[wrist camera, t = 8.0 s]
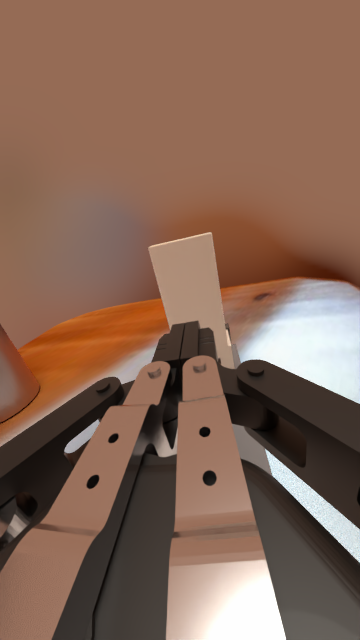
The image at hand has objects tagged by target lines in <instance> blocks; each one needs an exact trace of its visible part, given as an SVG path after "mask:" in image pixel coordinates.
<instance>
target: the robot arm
mask: <svg viewBox="0 0 360 640" xmlns="http://www.w3.org/2000/svg"><path fill="white" fill-rule="evenodd" d="M39 388H40V386H39V384H38V382H37V380H36V379H35V377H34V376H33V374H32V373H31V371H30V370H29V368H28V366H27V365H26V363H25V362H24V360H23V358H22V357H21V355H20V354H19V352H18V351H17V349H16V347H15V346H14V344H13V343H12V341H11V340H10V338H9V337H8V335H7V333H6V332H5V330H4V329H3V327H2V326H1V324H0V422H3V421H5V420H6V419H8V418H10V417H11V416H13V415H15V414H16V413H17V412H19V411H20V410H22V409H23V408H24V407H25V406H27V405H28V404H29V403H30V402H31V401H32V400H33V399H34V397H35V396H36V395H37V393H38V391H39ZM97 419H98V420H99V422H100V424H99V425H98V427H97V429H96V431H95V432H94V434H93V436H92V438H91V439H89V440H88V441H87V442H86V443H85V444H83V445H82V446H81V447H80V448H79V449H77V450H76V451H75V452H73V453H65V452H64V449H65V447H66V445H67V444H68V443H69V442H70V441H71V440H72V439H73V438H75V437H76V436H77V435H78V434H80V433H81V432H82V431H83V430H85V429H86V428H87V427H88V426H90V425H91V424H92V423H93V422H95V421H96V420H97ZM232 424H235V425H240V426H244V429H245V431H246V432H247V433H248V434H249V435H250V436H251V437H252V438H253V439H255V440H256V441H257V442H258V443H259V444H260V445H262V446H263V447H264V448H265V449H266V450H268V451H269V452H270V453H271V454H272V455H273V456H275V457H276V458H277V459H278V460H279V461H280V462H282V463H283V464H284V465H285V466H286V467H287V468H289V469H290V470H291V471H292V472H293V473H294V474H296V475H297V476H298V477H299V478H300V479H302V480H303V481H304V482H305V483H306V484H307V485H309V486H310V487H311V488H312V489H313V490H314V491H316V492H317V493H318V494H319V495H320V496H321V497H323V498H324V499H325V500H326V501H327V502H328V503H330V504H331V505H332V506H333V507H334V508H335V509H337V510H338V511H339V512H340V513H341V514H343V515H344V516H345V517H346V518H347V519H348V520H350V521H351V522H352V523H353V524H354V525H355V526H357V527H358V528H359V529H360V404H358V403H356V402H354V401H352V400H350V399H347V398H345V397H343V396H341V395H339V394H337V393H334V392H332V391H330V390H328V389H326V388H323V387H321V386H319V385H317V384H315V383H312V382H310V381H308V380H306V379H304V378H302V377H299V376H297V375H295V374H293V373H291V372H288V371H286V370H284V369H282V368H280V367H277V366H275V365H273V364H271V363H269V362H266V361H263V360H248V361H245V362H243V363H241V364H240V365H239V366H238V367H237V369H230V368H226V367H224V366H222V365H220V364H219V363H218V356H217V350H216V344H215V338H214V333H213V331H212V330H211V329H210V328H209V327H208V328H201V329H200V324H199V321H191V322H186V323H179V324H173V325H172V327H171V331H170V333H169V334H164V335H163V336H162V337H161V338H160V339H159V342H158V346H157V348H156V351H155V354H154V357H153V359H152V362H151V363H150V364H148V365H146V366H144V367H143V368H142V369H141V370H140V372H139V374H138V376H137V378H136V380H134V381H131V382H128V383H125V384H122V385H121V382H120V380H119V379H118V378H116V377H108V378H104V379H102V380H100V381H98V382H96V383H95V384H93V385H92V386H90V387H89V388H87V389H86V390H84V391H83V392H81V393H80V394H78V395H77V396H75V397H74V398H72V399H71V400H69V401H68V402H66V403H65V404H64V405H62V406H61V407H59V408H58V409H56V410H55V411H53V412H52V413H50V414H49V415H47V416H46V417H44V418H43V419H41V420H40V421H38V422H37V423H35V424H34V425H32V426H31V427H29V428H28V429H26V430H25V431H23V432H22V433H20V434H19V435H17V436H16V437H14V438H13V439H12V440H10V441H9V442H7V443H6V444H4V445H3V446H1V447H0V640H360V563H359V562H358V561H357V560H356V559H355V558H354V557H353V556H352V555H351V554H350V553H349V552H348V551H347V550H346V549H345V548H344V547H343V546H342V545H341V544H340V543H339V542H338V541H337V540H336V539H335V538H334V537H333V536H332V535H331V534H330V533H329V532H328V531H327V530H326V529H325V528H324V527H323V526H322V525H321V524H320V523H319V522H318V521H317V520H316V519H315V518H314V517H313V516H312V515H311V514H310V513H309V512H308V511H307V510H306V509H305V508H304V507H303V506H302V505H301V504H300V503H299V502H298V501H297V500H296V499H295V498H294V497H293V496H292V495H291V494H290V493H289V492H288V491H287V490H286V489H285V488H284V487H283V486H282V485H281V484H280V483H279V482H278V481H277V480H276V479H275V478H274V477H273V476H271V475H270V474H269V473H268V472H266V471H265V470H263V469H262V468H260V467H259V466H257V465H255V464H253V463H251V462H249V461H247V460H244V459H241V458H240V455H239V451H238V447H237V443H236V439H235V435H234V431H233V427H232Z"/></svg>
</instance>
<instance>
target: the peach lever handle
mask: <svg viewBox="0 0 360 640" xmlns="http://www.w3.org/2000/svg"><path fill="white" fill-rule="evenodd" d="M148 249H149V253H150V257H151V260H152V264H153V268H154V271H155V275H156V279H157V283H158V287H159V290H160V294H161V298H162V301H163V305H164V309H165V313H166V316H167V320H168V324H169V327H170V331H171V327H172V325H173V324H179V323H186V322H191V321H199V324H200V329H201V328H208V327H209V328H210V329H211V330H212V331H213V333H214V338H215V344H216V350H217V356H218V358H220V359H218V363H219V364H220V365H222V366H224V367H226V368H230V369H235V367H234V359H233V352H232V345H231V338H230V330H229V325H228V323H227V324H225V321H224V314H223V307H222V300H221V294H220V288H219V280H218V273H217V266H216V260H215V252H214V245H213V238H212V233H211V232H210V233H205V234H201V235H197V236H192V237H188V238H184V239H179V240H175V241H171V242H166V243H162V244H158V245H153V246H151V247H149V248H148Z"/></svg>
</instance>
